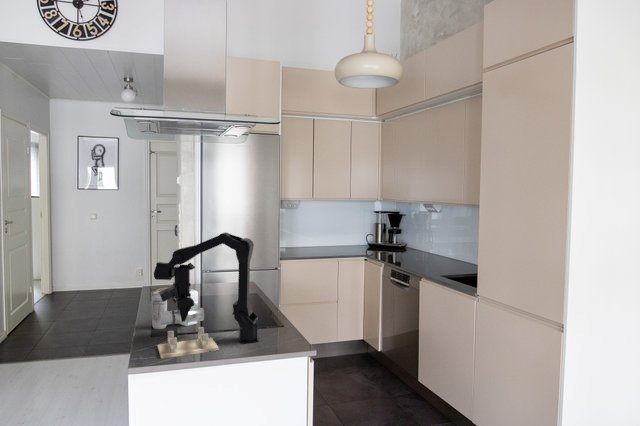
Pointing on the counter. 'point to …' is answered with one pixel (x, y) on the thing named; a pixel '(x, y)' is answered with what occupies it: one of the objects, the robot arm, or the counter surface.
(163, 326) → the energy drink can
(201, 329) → the collar stand
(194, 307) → the syrup box
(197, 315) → the metal tube
